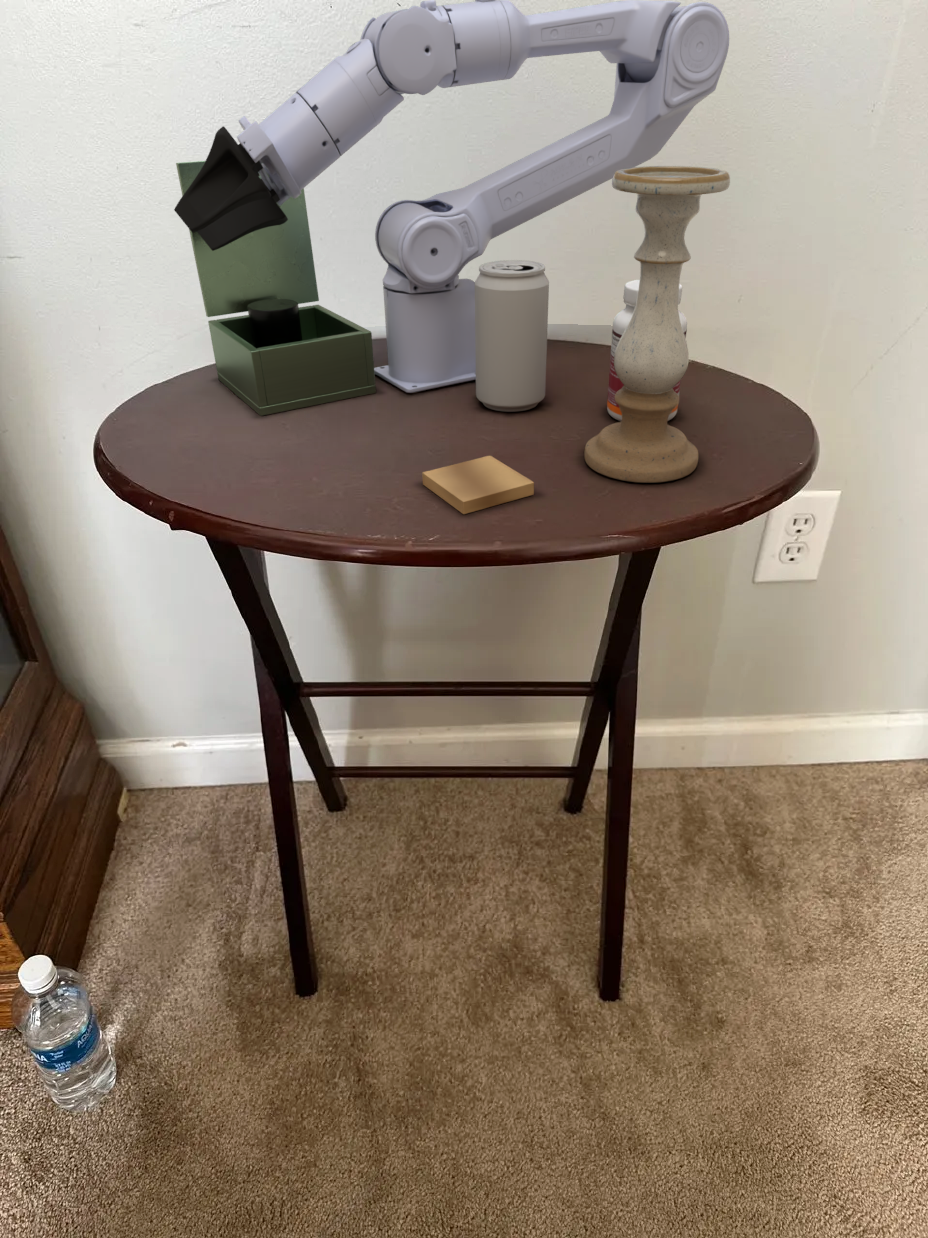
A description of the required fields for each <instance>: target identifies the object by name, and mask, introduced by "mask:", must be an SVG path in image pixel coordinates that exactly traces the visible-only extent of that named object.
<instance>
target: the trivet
mask: <svg viewBox="0 0 928 1238" xmlns="http://www.w3.org/2000/svg"><path fill="white" fill-rule="evenodd" d="M421 473H422V475H421V476H422V485H423V486H424V487H426V489H428V490H430V491H431V492H432V493H434V494H435V495H437V496H438V497H439V498H441V499H442V500H443V501H444V502H446V503H447V504H449V505H450V506H452V507H453V508H454V509H455V510H457V511H458V512H460V513H461V514H462V515H467V514H470V513H474V512H477V511H481V510H485V509H488V508H492V507H495V506H498V505H503V504H506V503H509V502H512V501H517V500H520V499H524V498H528V497H530V496H534V494H535V482H534V481H533V480H531V479H530V478H528V477H527V476H524V475H523V474H521V473H520V472H518V471H516V470H515V469H513V468H511V467H510V466H508V465H506V464H504V463H503V462H501V460H498V459H497V458H495V457H493V456H492V455H486V456H483V457H478V458H474V459H471V460H470V459H469V460H466V461H463V462H458V463H454V464H451V465H445V466H443V467H438V468H435V469H430V470H426V471H422V472H421Z"/></svg>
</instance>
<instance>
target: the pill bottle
mask: <svg viewBox="0 0 928 1238" xmlns="http://www.w3.org/2000/svg"><path fill="white" fill-rule="evenodd" d="M639 282H640V279H633V280H629V281H627V282H626V283H625V284H624V289H623V296H622V298H623V303H624V304H625V307H624V308H623V309H621V310H620V311H618V312H617V314H615V316H614V318H613V321H612V330H611V343H610V344H611V345H610V358H609V369H608V384H607V385H608V386H607V401H606V409H607V413H608V415H609V416H610V417H612V418H613V419H615V420H617V421H618V422H621V421H622V412H621V411H620V408H619V407H620V406H619V405H618V404H617V402H616V401H615V394H616V393H617V391H618V390H620V389H621V388H622V387H623V386H624V384H623V383H622V382H621V381H620V379H619V378H618V376H617V374H616V371H615V369H614V355H615V350H616V348H617V345H618V343H619V341H620V338H621V336H622V335H623V333H624V331H625V329H626V327H627V326H628V324H629V322H630V320H631V317H632V315H633V312H634V309H635V306H636V302H637V296H638V290H639ZM682 293H683V285H682V284H681V283H679V295H678V306H679V305H680V304H681V300H682V295H683V294H682ZM678 312H679V318H680V323H681V326H682V329H683V332H684V335H685V339H686V338H687V331H688V319H687V317H686V315H685V314H684V312H682V311H681V310H679V309H678ZM686 340H687V339H686ZM681 381H682V379H681V380H680V381H679V382H678V383H677V384H676V385H675V386H674V387H673V390H674V392H676V393H677V394H678V396H679V397H680V392H681V384H682V383H681ZM678 409H679V404H678V405H677V406H676V407H675V408H674V409H672V412H671V414H670V415H669V417H668V421H667V422H669V421H670V420H672V419H674V418H675V416H676V415H677V413H678Z"/></svg>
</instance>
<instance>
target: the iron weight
mask: <svg viewBox="0 0 928 1238" xmlns="http://www.w3.org/2000/svg"><path fill="white" fill-rule="evenodd" d="M299 307H300V306H299V304H298V303H297V302H296V301H294V300H289V299H267V300H260V301H256V302H253V303H251V304H249V305H248V307H247V308H248V311H247V315H249V321H250V327H251V334H252V341H253V346H254V347H255V348H256V349H257V348H261V347H267V346H273V345H279V344H285V343H291V342H297V341H303V340H302V332H301V324H300V315H299Z"/></svg>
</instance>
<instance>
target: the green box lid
mask: <svg viewBox="0 0 928 1238" xmlns="http://www.w3.org/2000/svg"><path fill="white" fill-rule="evenodd" d="M205 161H206V160H198V161H185V162H184V161H183V162H182V161H181V162H176V163H175V165H176V171H177V174H178V175H177V176H178V180H179V185H180V191H181V195H182V196H183V195H184V193H185V192H186V191H187V189H188V188H189V186H190V185H191V184H192V182H193V181H194V179H195V178H196V176H197V175H198V173H199V172H200V170H201V168H202V167H203V165H204V163H205ZM261 164H262V163H261ZM267 175H268V174H267ZM268 177H269V175H268ZM259 178H260V179H262V178H261V177H260V176H259ZM278 206H279V205H278ZM279 207H280V208H281V210H282V211H283V212H284V214H285V215H286V216H287V218H288V220H287V221H286V222H285V223H284V224H281V225H276V226H270V227H266V228H262V229H259V230H256V231H254V232H251V233H249V234H247V235H245V236H243V237H241V238H239V239H237V240H235V241H233V242H231V243H229V244H227V245H226V246H224V247H221V248H219V249H217V250H214V251H212V250H211V249H210V247H209V246H208V245H207V244H206V242H205V241H204V240H203V239H202V237H201V236H200V235H199V234H198V232H197V231H196V232H194V233H193V232H191V230H190V229H189V228H188V230H189V231H188V232H189V236H190V241H191V246H192V251H193V256H194V261H195V266H196V271H197V277H198V281H199V286H200V292H201V297H202V302H203V306H204V311H205V312H204V313H205V316H206V318H212V317H219V316H226V315H233V314H239V313H248V308H247V307H248V305H249V304H251V303H253V302H256V301H260V300H267V299H289V300H294V301H296V302H297V303H298V305H301V304H308V303H315V302H319V301H320V297H319V291H318V284H317V276H316V269H315V261H314V252H313V247H312V239H311V232H310V230H311V229H310V223H309V216H308V208H307V201H306V195H305V187H304V188H303V189H302V190H301V194H300V195H299V196H298V197H297V198H295V199H294V198H292V197H290V198H289V199H288V200H286V201H285V202H284V203H283V204H282V205H281V206H279Z"/></svg>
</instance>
